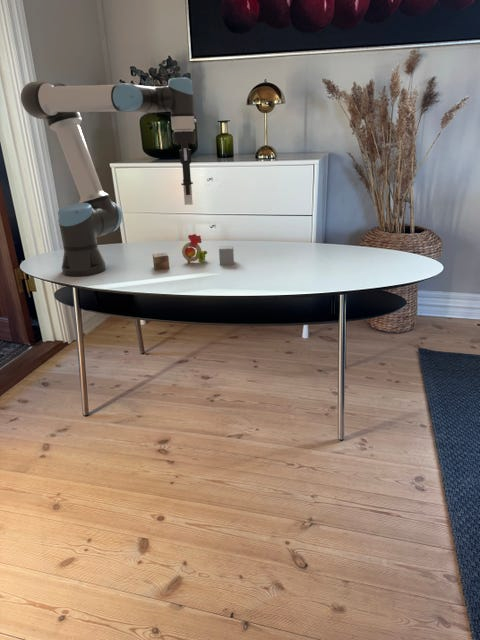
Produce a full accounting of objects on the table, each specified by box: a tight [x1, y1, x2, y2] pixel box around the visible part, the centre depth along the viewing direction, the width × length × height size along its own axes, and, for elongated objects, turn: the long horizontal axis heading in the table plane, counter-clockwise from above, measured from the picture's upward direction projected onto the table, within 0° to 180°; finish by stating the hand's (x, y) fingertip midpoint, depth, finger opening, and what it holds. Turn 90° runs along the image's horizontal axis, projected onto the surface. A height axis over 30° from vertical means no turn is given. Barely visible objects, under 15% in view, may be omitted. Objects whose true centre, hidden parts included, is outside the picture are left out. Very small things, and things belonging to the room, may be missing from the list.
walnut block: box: [152, 252, 170, 271], centre depth 174 cm, size 5×5×5 cm
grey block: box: [218, 245, 235, 266], centre depth 177 cm, size 5×5×6 cm
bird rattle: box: [181, 233, 208, 264], centre depth 179 cm, size 6×11×9 cm
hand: (188, 204), depth 165 cm, fingers closed
